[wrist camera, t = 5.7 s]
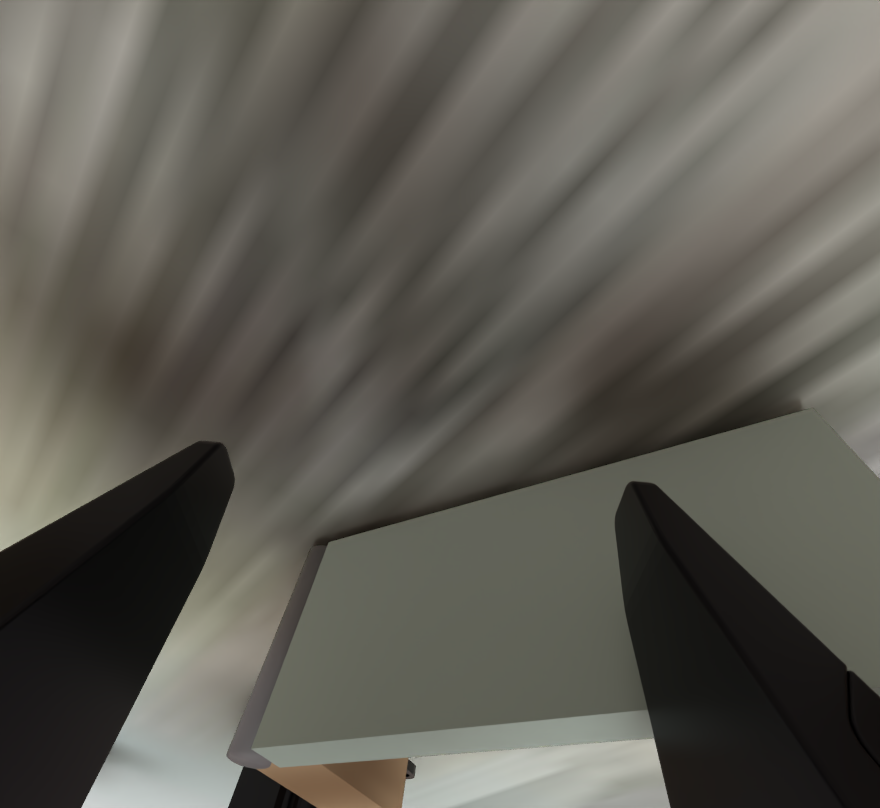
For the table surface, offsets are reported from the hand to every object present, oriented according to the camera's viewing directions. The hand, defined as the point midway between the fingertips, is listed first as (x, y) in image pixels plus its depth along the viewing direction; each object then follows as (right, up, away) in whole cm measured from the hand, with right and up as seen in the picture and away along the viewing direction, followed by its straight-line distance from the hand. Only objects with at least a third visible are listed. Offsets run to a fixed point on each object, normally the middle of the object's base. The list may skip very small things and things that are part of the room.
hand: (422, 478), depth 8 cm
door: (+2, -1, +4) cm, 5 cm away
